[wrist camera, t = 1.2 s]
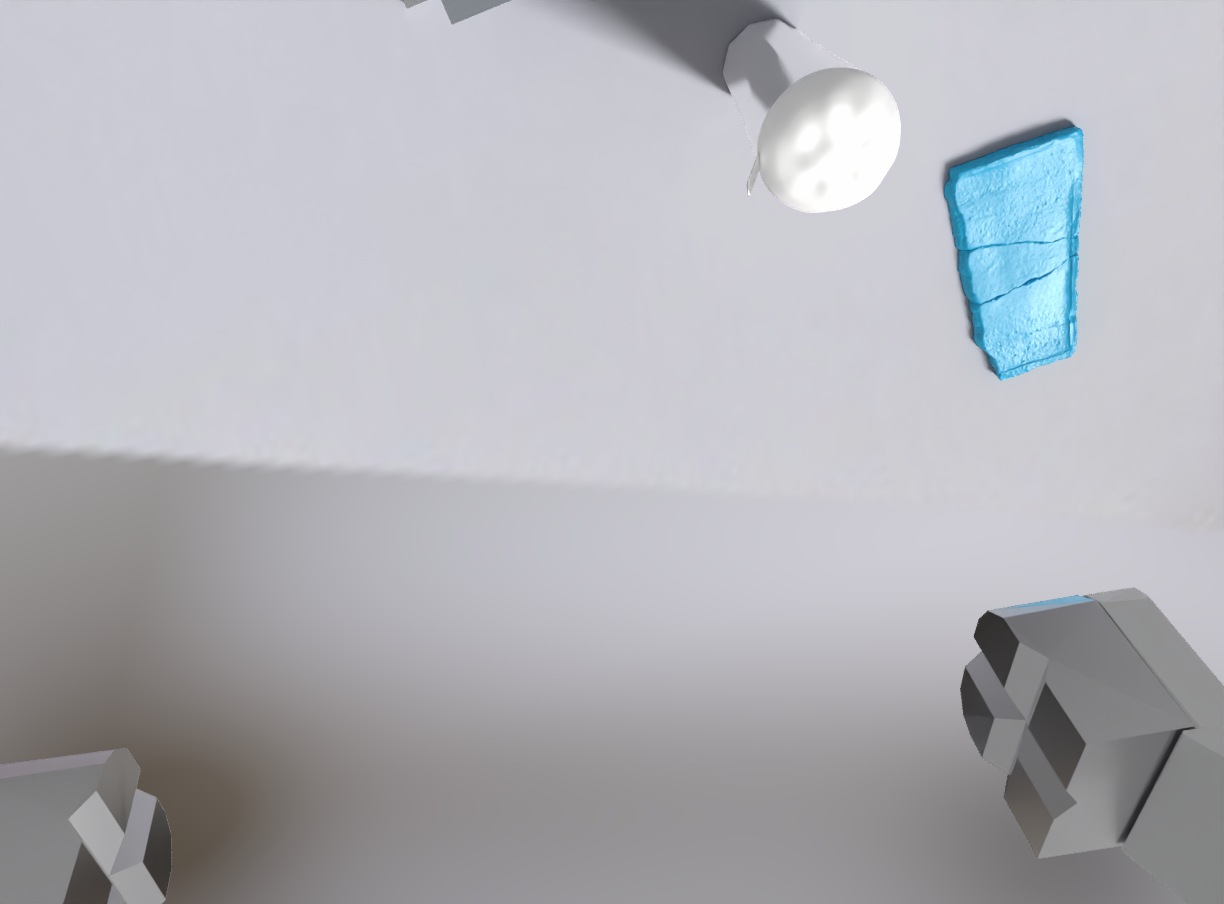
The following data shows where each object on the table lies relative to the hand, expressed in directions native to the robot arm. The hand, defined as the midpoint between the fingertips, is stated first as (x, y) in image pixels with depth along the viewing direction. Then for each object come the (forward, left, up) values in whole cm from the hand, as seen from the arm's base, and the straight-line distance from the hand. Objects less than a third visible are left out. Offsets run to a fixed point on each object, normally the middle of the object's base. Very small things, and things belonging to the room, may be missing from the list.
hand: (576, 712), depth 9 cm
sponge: (-17, +19, -32) cm, 41 cm away
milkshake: (-8, +7, -31) cm, 33 cm away
